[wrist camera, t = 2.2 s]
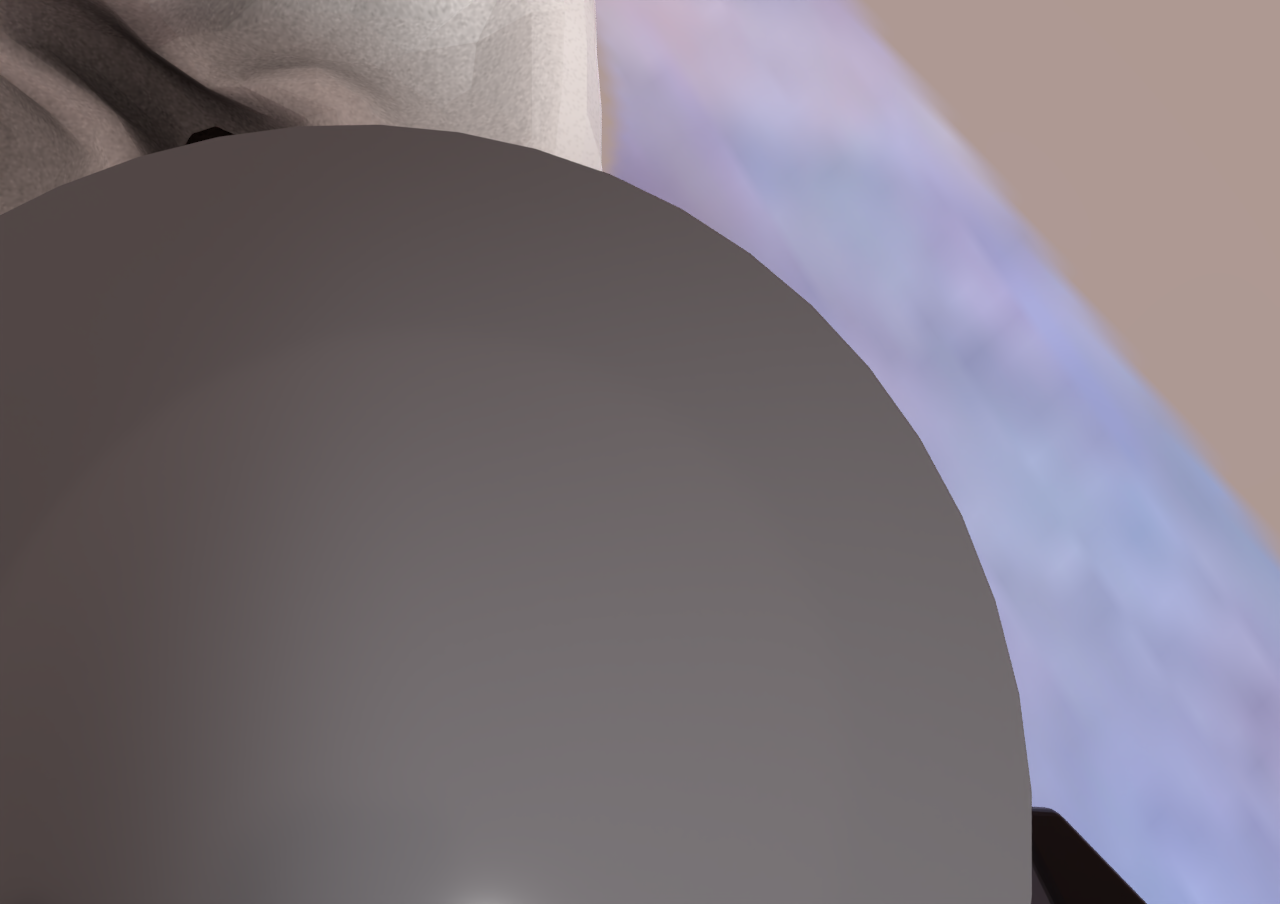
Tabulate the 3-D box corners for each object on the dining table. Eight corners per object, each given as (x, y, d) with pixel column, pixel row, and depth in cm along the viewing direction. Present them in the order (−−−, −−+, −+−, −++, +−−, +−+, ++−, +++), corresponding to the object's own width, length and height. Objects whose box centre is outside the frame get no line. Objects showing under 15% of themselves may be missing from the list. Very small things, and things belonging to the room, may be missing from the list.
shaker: (777, 836, 16) (1313, 1272, 3) (442, 972, 16) (-393, 2090, 3) (653, 514, 18) (710, -20, 5) (342, 627, 17) (-514, 358, 4)
